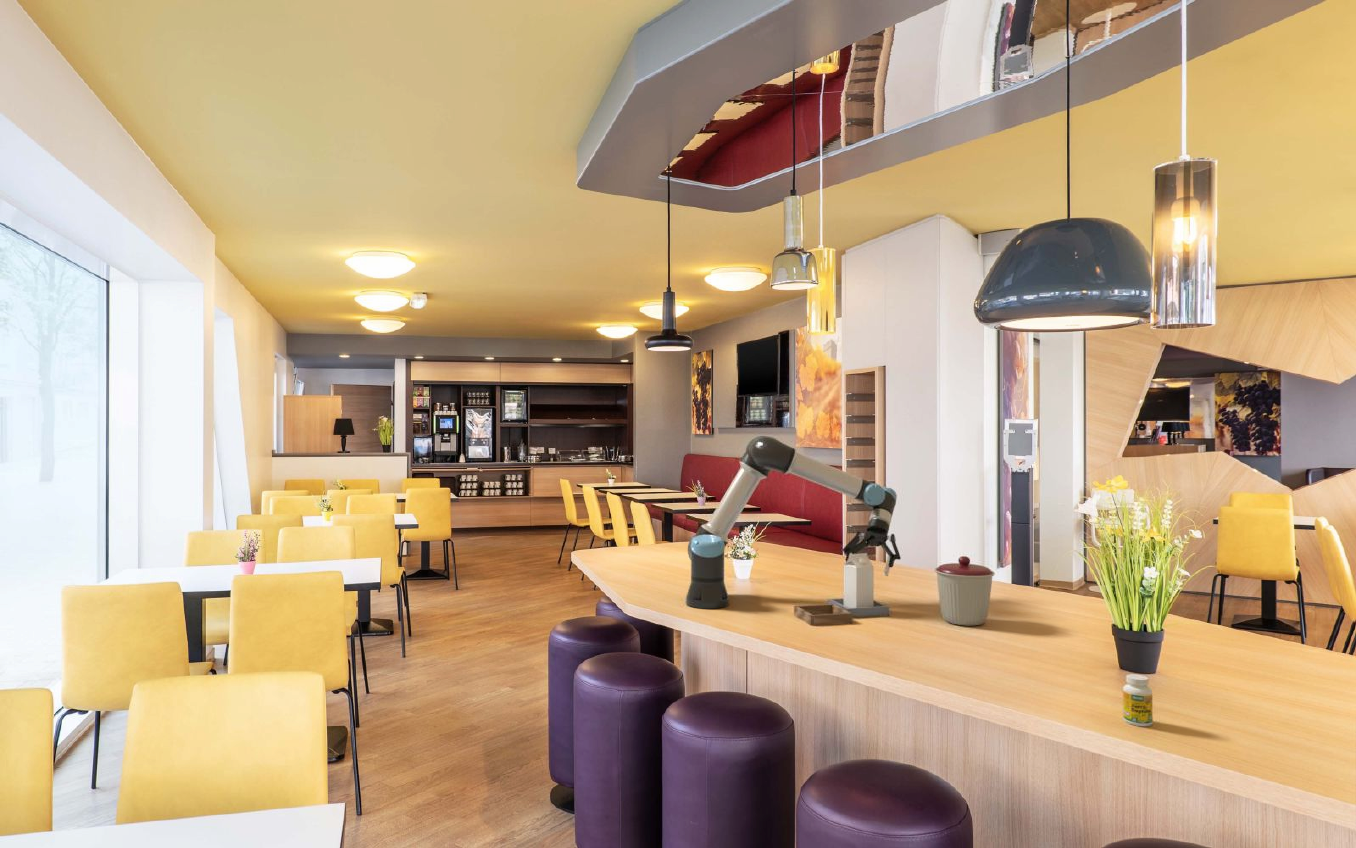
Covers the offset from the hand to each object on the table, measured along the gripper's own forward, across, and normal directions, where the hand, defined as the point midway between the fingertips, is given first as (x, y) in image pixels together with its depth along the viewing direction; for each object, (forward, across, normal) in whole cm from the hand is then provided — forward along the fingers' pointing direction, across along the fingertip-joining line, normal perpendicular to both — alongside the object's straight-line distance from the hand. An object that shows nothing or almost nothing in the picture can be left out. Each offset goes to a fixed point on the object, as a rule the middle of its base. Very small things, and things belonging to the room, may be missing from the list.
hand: (866, 572), depth 276 cm
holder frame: (+27, +7, +10) cm, 29 cm away
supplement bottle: (+63, -82, +46) cm, 114 cm away
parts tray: (+15, 0, -2) cm, 15 cm away
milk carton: (+15, 0, -2) cm, 15 cm away
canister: (+13, -34, -4) cm, 36 cm away
